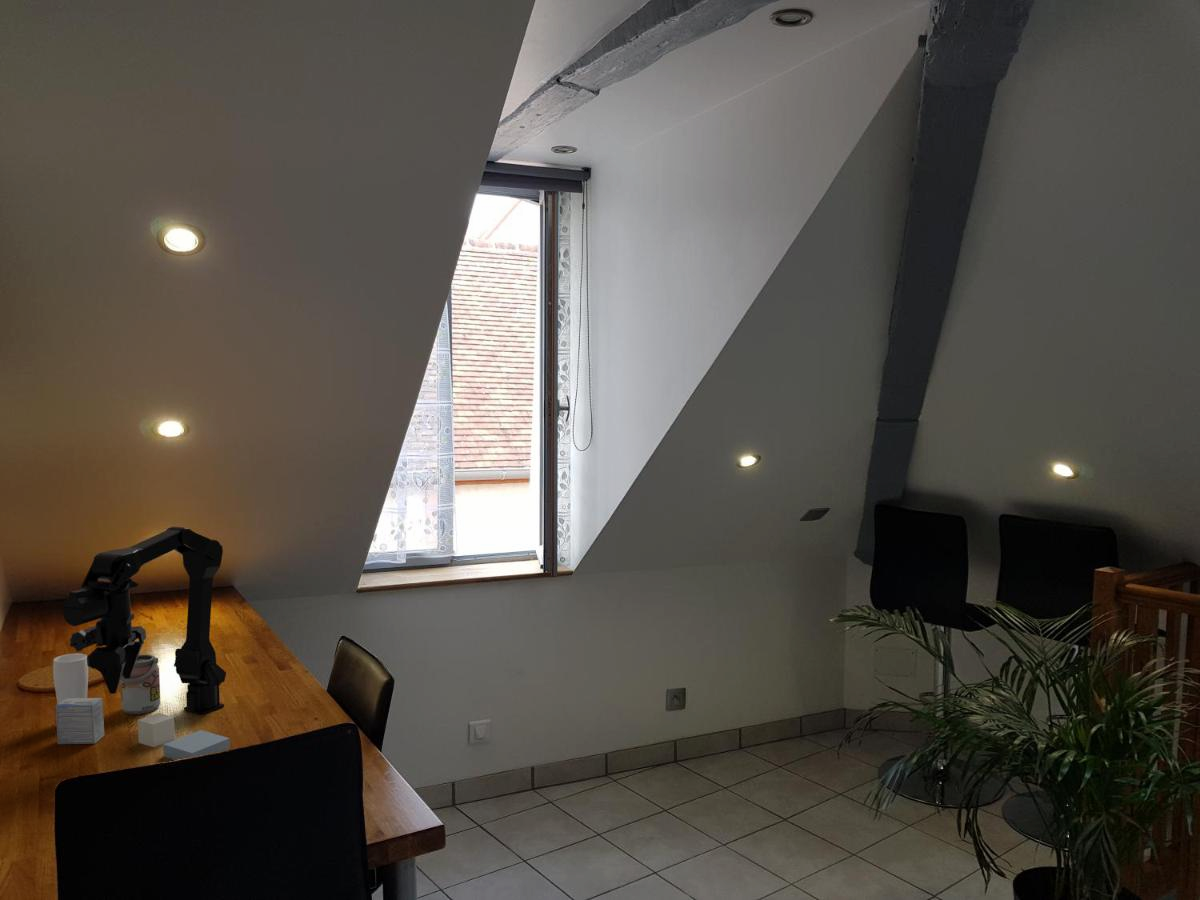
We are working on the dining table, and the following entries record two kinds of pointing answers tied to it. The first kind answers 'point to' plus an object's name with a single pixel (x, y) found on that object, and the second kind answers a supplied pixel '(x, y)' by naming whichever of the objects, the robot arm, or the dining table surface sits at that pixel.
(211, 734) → the slate block
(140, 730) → the cream cube
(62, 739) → the medicine box
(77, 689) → the drinking glass
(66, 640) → the dining table surface
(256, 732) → the dining table surface
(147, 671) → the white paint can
